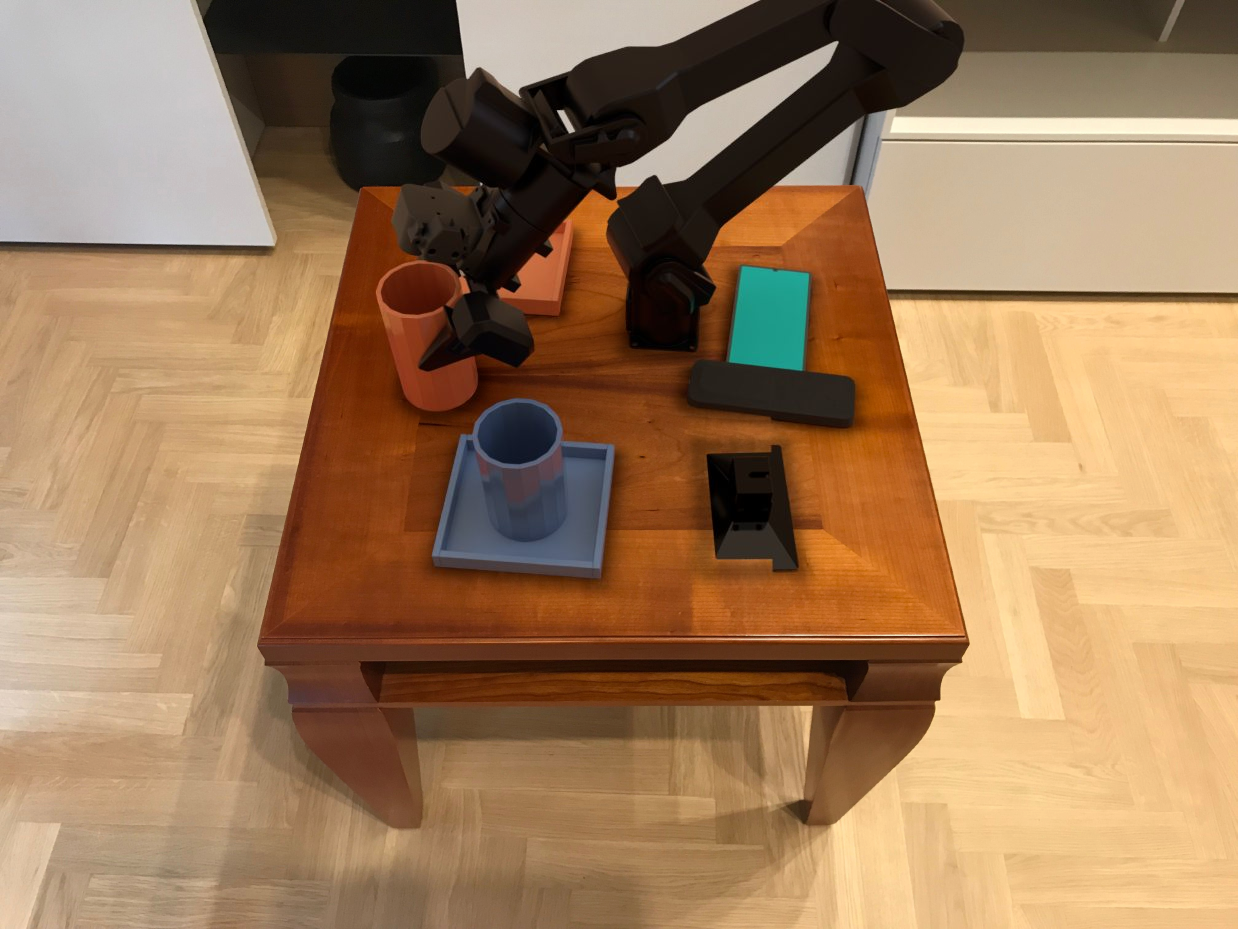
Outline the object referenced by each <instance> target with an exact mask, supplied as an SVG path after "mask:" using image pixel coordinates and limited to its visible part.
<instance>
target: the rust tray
mask: <svg viewBox="0 0 1238 929" xmlns="http://www.w3.org/2000/svg"><path fill="white" fill-rule="evenodd" d="M573 239H574V221H573V218H566V219H565V221H564V222H563V223H562V224H561V225H560V226H559V227H558V228H557V229H556V231H555V232H554V233H553V234H552V235H551V236H550V237H549V240H550V242H551V245H552V247H553V249H554V250H553V251H552V252H551V253H550V254H549V255H548V256H547V258H544V257H542V256H541V255H539V254H537V253H535V254H534V255H533V256H532V258H531V259H530V260H529V261H528V262H527V263H526V264H525V265H524V267H523V268H522V269H521V270H520V271H519V272H518V273H517V275H518V277H519V280H520V282H521V284H522V285H521V286H520V287H519V288H518V290H517V291H516V292H515V293H512V292H510V291H508V290H506V289H504V288H501V289H500V290H497V291H498V294H499V296H500V299H501V301H504V302H506V303H508V304H510V305H512V306H514V307H516V308H518V309H520V310H522V311H523V313H524V315H538V316H539V315H540V316H556V317H558V316H560V312H561V306H562V300H563V294H564V289H565V283H566V279H567V272H568V266H569V261H570V256H571V250H572V244H573ZM459 280H460V283H461V286H462V292H463V294H466V293H470V291H469V288H468V285H467V282H466V279H465V278H463V277H462V276H461V277H460V278H459Z"/></svg>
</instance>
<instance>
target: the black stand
mask: <svg viewBox="0 0 1238 929" xmlns="http://www.w3.org/2000/svg"><path fill="white" fill-rule="evenodd" d="M782 451H783V450H782V446H781V445H780V444H770V451H757V452H756V451H755V452H714V453H707V454H706V455H705V456H706V465H707V466H706V468H707V476H708V477H707V479H708V491H709V502H710V513H711V523H712V524H711V525H712V535H713V547H714V558H715V559H716V560H717V561H718V560H771V563H772V564H771V566H772V567H771V569H772V570H771V571H772V572H797V571H798V570H799V568H800V565H799V559H798V552H797V545H796V537H795V531H794V525H793V524H794V523H793V518H792V511H791V504H790V498H789V491H788V484H787V479H786V471H785V464H784V457H783V452H782Z"/></svg>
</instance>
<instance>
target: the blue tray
mask: <svg viewBox="0 0 1238 929" xmlns="http://www.w3.org/2000/svg"><path fill="white" fill-rule="evenodd" d="M615 445H616V444H614V443H602V442H601V443H598V442H585V441H570V440H569V441H568V440H564V451H565V463H566V475H567V487H568V499H569V501H568V513H567V516H566V519H565V520H564V522H563V524H562V525H561V526H560V527H559V528H558V529H557V530H556V531H555V532H554V533H553V534H551V535H549V536H548V537H545V538H543V539H540V540H536V541H529V542H522V541H516V540H512V539H509V538H507V537H505V536H503V535H502V534H500V533H499V532H498V531H497V530H496V529H495V528H494V527H493V525H492V523H491V521H490V519H489V515H488V511H487V507H486V502H485V497H484V493H483V488H482V483H481V478H480V473H479V468H478V464H477V459H476V454H475V449H474V444H473V440H472V434H467V433H460V436H459V440H458V445H457V449H456V452H455V457H454V461H453V465H452V470H451V473H450V478H449V482H448V486H447V491H446V494H445V498H444V503H443V508H442V510H441V515H440V519H439V524H438V529H437V532H436V536H435V540H434V544H433V548H432V553H431V559H432V562H433V565H434V567H442V568H453V569H469V570H482V571H494V572H505V573H506V572H507V573H519V574H520V573H521V574H532V575H547V576H559V577H574V578H584V579H585V578H587V579H599V580H600V579H601V578H602V577H601V576H602V569H603V562H604V553H605V552H604V551H605V544H606V534H607V526H608V525H607V524H608V516H609V508H610V500H611V491H612V482H613V473H614V463H615V456H616V452H615V450H616V448H615Z"/></svg>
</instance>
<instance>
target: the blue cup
mask: <svg viewBox="0 0 1238 929" xmlns="http://www.w3.org/2000/svg"><path fill="white" fill-rule="evenodd" d="M471 435H472V440H473V444H474V449H475V454H476V459H477V464H478V468H479V473H480V478H481V483H482V488H483V493H484V497H485V502H486V507H487V511H488V515H489V519H490V521H491V523H492V525H493V527H494V528H495V529H496V530H497V531H498V532H499V533H500V534H502V535H503V536H505V537H507V538H509V539H512V540H516V541H522V542H529V541H536V540H540V539H543V538H545V537H548V536H549V535H551V534H553V533H554V532H555V531H556V530H557V529H558V528H559V527H560V526H561V525H562V524H563V522H564V520H565V519H566V516H567V513H568V501H569V499H568V487H567V475H566V463H565V451H564V441H565V439H564V428H563V426H562V423H561V420H560V417H559V415H558V414H557V413H556V412H555V411H554V410H553V409H552V408H551V407H550V406H549V405H548V404H546V403H542V402H540V401H537V400H535V399H532V398H519V397H518V398H516V397H515V398H510V399H507V400H502V401H498V402H496V403H495V404H493V405H492V406H490V407H489V408H486V409H485V410H484V411H483V412H482V413H481V414H480V416H479V417H478V418H477V420H476V421H475V422H474V426H473V430H472V434H471Z"/></svg>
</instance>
